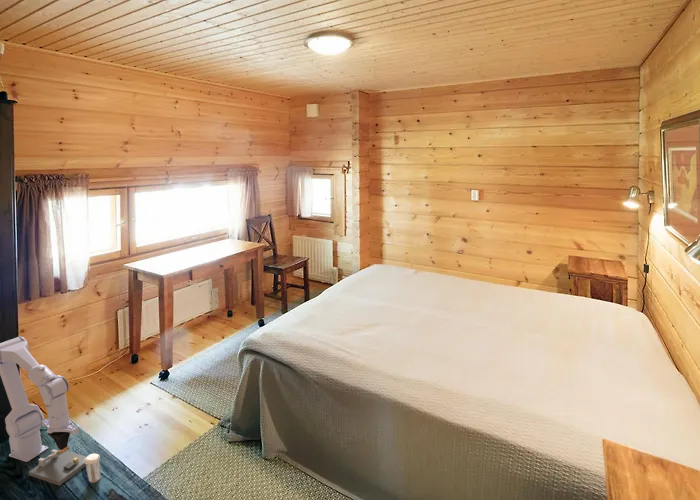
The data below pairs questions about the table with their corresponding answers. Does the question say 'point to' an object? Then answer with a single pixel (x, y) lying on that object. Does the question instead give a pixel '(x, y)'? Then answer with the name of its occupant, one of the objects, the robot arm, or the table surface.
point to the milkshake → (93, 467)
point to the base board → (58, 467)
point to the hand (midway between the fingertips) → (63, 447)
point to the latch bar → (56, 453)
